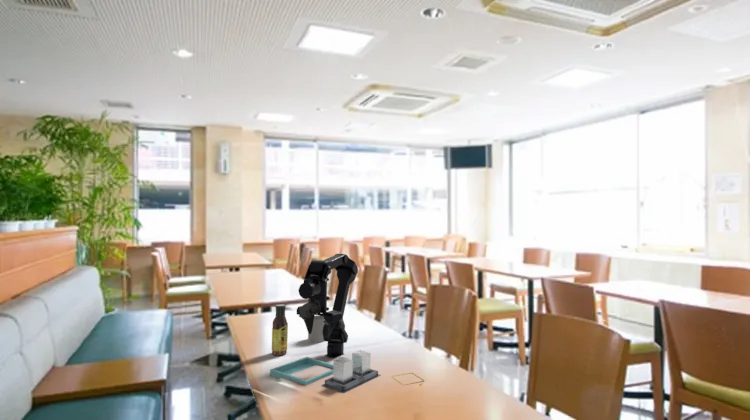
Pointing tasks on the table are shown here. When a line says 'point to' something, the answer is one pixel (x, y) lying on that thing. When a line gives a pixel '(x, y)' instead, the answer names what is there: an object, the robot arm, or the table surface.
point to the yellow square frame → (409, 383)
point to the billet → (342, 370)
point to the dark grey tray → (355, 382)
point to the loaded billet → (361, 363)
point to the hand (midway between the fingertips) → (318, 336)
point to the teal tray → (298, 366)
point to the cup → (317, 330)
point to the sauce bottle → (279, 331)
